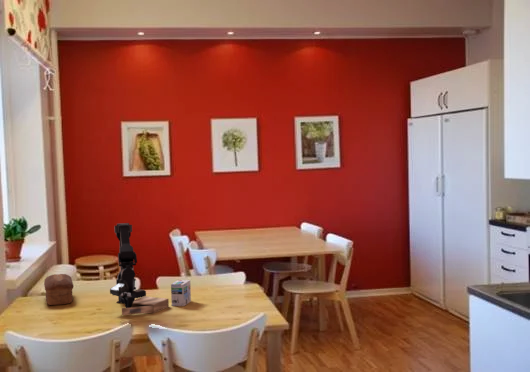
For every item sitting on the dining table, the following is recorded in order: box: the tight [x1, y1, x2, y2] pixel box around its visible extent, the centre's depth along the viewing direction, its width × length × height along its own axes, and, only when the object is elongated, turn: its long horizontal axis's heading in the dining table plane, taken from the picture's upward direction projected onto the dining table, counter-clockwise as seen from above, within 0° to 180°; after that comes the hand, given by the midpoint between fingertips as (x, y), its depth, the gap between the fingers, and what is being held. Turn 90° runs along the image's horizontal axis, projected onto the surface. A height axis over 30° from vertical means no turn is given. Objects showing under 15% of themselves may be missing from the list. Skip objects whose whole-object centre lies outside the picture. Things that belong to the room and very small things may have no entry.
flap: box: [121, 306, 153, 316], centre depth 278 cm, size 14×1×3 cm, turn 104°
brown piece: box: [131, 295, 170, 314], centre depth 288 cm, size 14×12×4 cm
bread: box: [43, 273, 74, 306], centre depth 310 cm, size 14×28×12 cm, turn 21°
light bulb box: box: [170, 279, 192, 307], centre depth 297 cm, size 11×7×11 cm, turn 168°
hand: (128, 310), depth 279 cm, fingers closed
